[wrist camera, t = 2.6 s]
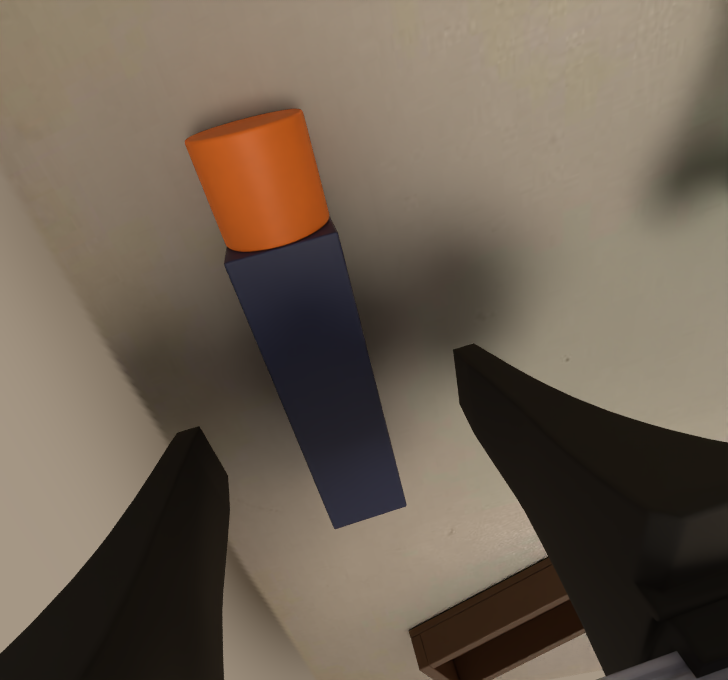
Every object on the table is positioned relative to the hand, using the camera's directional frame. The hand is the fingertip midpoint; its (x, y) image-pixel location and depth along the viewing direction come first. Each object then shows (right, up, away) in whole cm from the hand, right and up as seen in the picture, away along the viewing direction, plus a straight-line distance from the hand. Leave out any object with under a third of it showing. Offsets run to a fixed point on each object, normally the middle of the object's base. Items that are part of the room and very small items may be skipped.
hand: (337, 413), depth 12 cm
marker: (-1, +2, +2) cm, 3 cm away
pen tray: (+11, -12, +13) cm, 21 cm away
